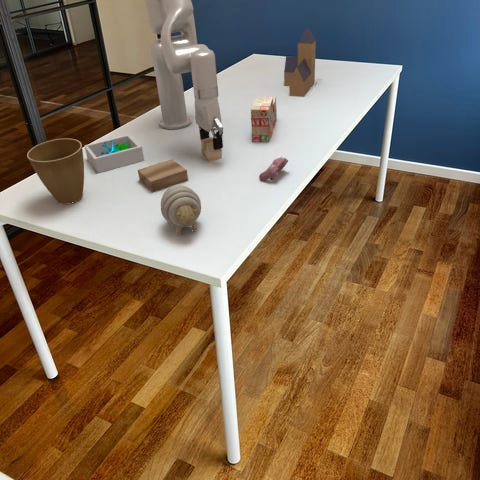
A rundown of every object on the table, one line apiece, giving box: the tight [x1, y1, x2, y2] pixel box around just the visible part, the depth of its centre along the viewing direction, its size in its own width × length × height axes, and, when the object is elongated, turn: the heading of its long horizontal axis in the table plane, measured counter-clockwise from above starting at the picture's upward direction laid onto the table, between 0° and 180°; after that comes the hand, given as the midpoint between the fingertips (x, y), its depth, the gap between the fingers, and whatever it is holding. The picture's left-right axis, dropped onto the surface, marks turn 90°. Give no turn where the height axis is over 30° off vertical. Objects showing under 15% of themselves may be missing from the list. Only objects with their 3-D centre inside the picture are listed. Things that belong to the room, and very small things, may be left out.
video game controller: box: [258, 156, 289, 182], centre depth 148 cm, size 10×5×7 cm, turn 148°
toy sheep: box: [160, 184, 202, 236], centre depth 126 cm, size 11×17×11 cm, turn 24°
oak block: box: [200, 136, 223, 162], centre depth 161 cm, size 5×5×6 cm
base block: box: [137, 159, 189, 193], centre depth 150 cm, size 10×12×4 cm
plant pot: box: [26, 137, 85, 205], centre depth 140 cm, size 15×15×16 cm
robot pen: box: [83, 134, 145, 174], centre depth 164 cm, size 13×16×5 cm
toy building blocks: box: [283, 26, 317, 98], centre depth 209 cm, size 12×19×25 cm
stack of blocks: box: [250, 96, 278, 144], centre depth 175 cm, size 21×6×12 cm, turn 170°
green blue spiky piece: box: [101, 140, 130, 154], centre depth 166 cm, size 12×7×8 cm
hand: (211, 144), depth 159 cm, fingers open, 9 cm apart
